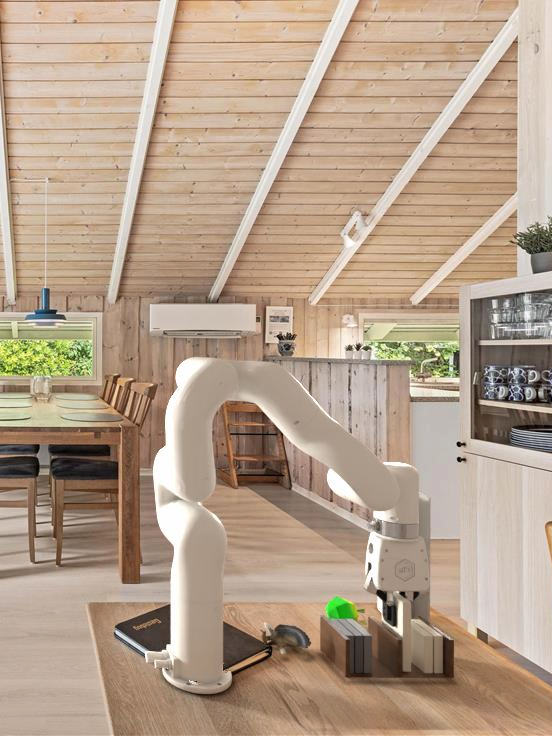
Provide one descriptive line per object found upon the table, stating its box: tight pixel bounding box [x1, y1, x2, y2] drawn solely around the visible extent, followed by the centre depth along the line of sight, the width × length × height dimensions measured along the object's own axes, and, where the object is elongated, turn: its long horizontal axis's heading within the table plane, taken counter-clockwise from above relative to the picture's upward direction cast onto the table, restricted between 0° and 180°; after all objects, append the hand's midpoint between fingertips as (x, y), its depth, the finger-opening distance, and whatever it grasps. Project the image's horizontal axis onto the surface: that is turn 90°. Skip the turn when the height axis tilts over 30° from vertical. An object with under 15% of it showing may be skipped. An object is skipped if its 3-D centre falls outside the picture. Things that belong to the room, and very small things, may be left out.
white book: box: [381, 591, 411, 672], centre depth 120 cm, size 2×7×13 cm, turn 0°
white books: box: [411, 619, 443, 673], centre depth 120 cm, size 4×7×7 cm, turn 0°
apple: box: [325, 595, 368, 624], centre depth 138 cm, size 7×6×9 cm
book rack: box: [319, 614, 455, 679], centre depth 120 cm, size 20×10×8 cm, turn 90°
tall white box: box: [377, 490, 432, 623], centre depth 139 cm, size 14×6×30 cm, turn 168°
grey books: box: [327, 618, 372, 673], centre depth 120 cm, size 5×7×7 cm
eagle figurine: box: [259, 622, 312, 656], centre depth 125 cm, size 8×7×9 cm
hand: (395, 622), depth 120 cm, fingers closed on white book, 1 cm apart
